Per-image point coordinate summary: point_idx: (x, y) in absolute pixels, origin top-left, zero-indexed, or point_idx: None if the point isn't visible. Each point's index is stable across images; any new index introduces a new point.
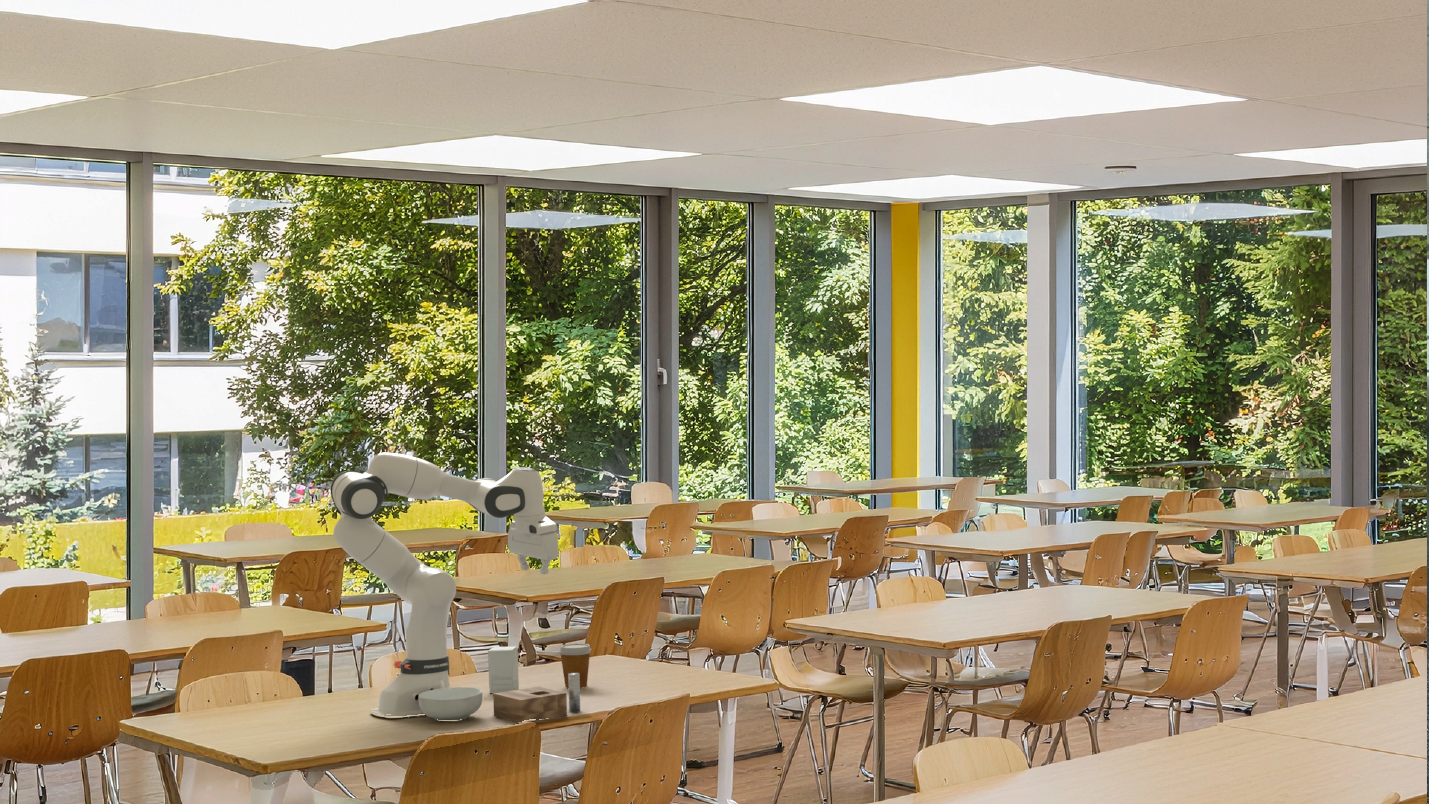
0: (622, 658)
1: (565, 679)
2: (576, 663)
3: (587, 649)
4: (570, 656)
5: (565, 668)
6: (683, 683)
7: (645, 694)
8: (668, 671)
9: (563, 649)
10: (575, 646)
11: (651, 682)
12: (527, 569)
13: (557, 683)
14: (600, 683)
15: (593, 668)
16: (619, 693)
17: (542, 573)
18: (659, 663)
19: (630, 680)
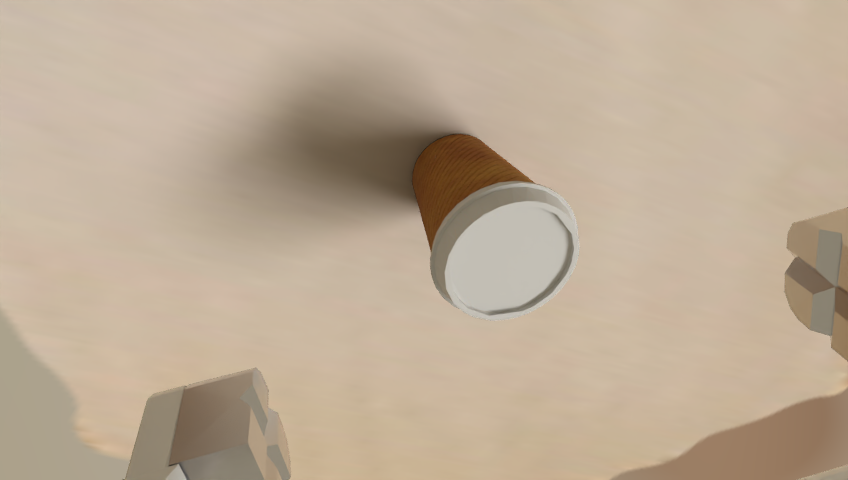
0: (769, 408)
1: (464, 145)
2: (432, 213)
3: (445, 294)
4: (453, 206)
5: (468, 164)
6: None
7: (133, 332)
8: (500, 463)
9: (497, 200)
10: (523, 266)
11: (359, 395)
12: (791, 279)
13: (568, 137)
14: None
15: (711, 313)
16: (210, 264)
17: (174, 391)
18: (627, 465)
19: (439, 353)
